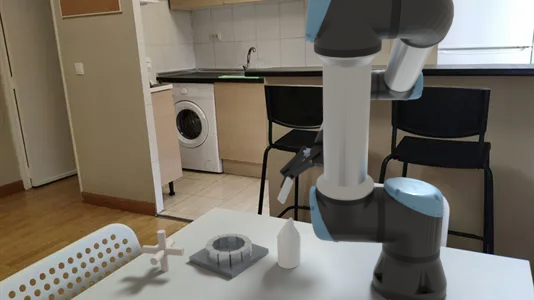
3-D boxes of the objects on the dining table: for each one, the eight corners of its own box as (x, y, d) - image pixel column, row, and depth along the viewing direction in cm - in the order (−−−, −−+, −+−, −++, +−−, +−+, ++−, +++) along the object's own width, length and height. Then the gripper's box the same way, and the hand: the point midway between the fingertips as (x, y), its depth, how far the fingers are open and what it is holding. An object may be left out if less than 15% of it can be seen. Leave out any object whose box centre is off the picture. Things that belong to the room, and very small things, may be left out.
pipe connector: (176, 282, 99) (172, 242, 96) (136, 279, 101) (130, 240, 98) (192, 260, 108) (189, 223, 106) (155, 257, 110) (150, 221, 108)
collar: (268, 253, 111) (268, 239, 110) (232, 278, 100) (231, 263, 99) (227, 239, 119) (226, 226, 118) (189, 261, 108) (188, 247, 107)
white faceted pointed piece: (278, 211, 106) (301, 212, 105) (280, 255, 109) (302, 257, 108) (274, 221, 100) (298, 222, 99) (275, 268, 103) (299, 269, 102)
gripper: (380, 148, 111) (353, 224, 104) (298, 137, 126) (269, 203, 119) (372, 133, 106) (342, 211, 99) (287, 123, 121) (256, 190, 113)
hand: (302, 207), depth 109 cm, fingers open, 13 cm apart
